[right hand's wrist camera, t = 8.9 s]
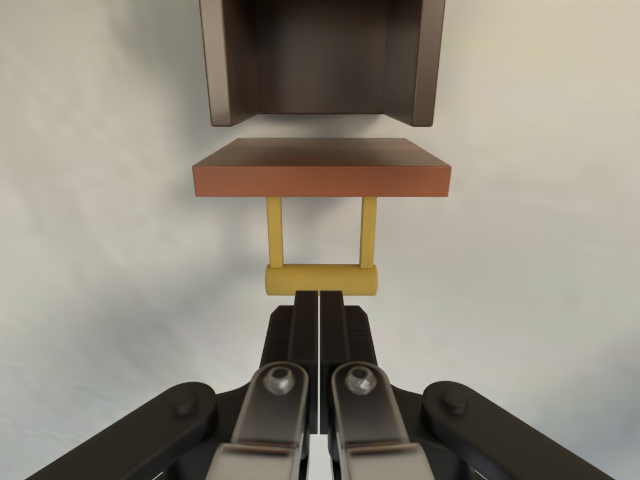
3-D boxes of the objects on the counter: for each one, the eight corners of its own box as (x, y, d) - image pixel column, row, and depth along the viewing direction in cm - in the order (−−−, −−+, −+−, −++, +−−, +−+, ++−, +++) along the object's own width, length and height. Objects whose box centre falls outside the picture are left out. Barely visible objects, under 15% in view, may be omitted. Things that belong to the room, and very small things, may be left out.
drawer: (396, 245, 25) (433, 319, 17) (245, 245, 25) (210, 319, 17) (434, -234, 17) (539, -531, 9) (209, -234, 17) (108, -530, 9)
